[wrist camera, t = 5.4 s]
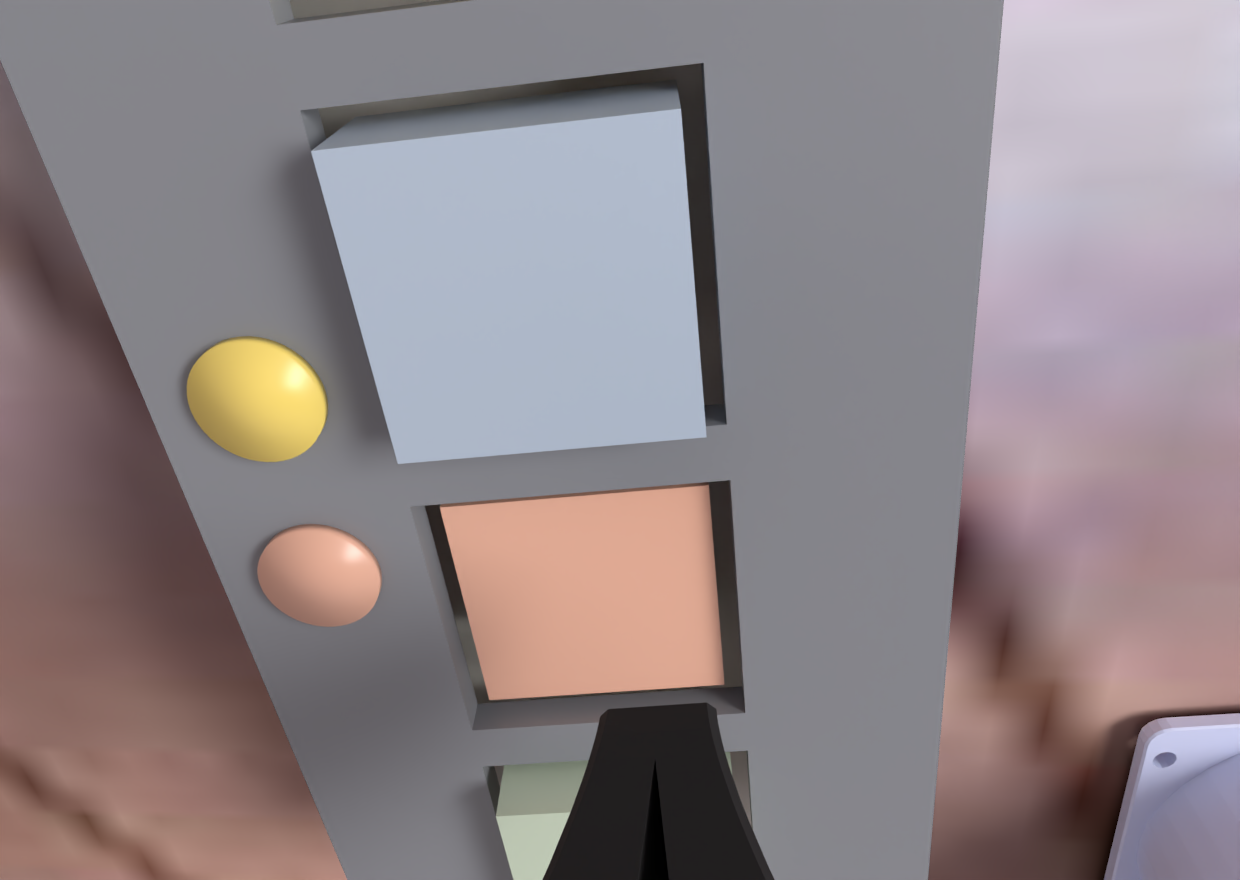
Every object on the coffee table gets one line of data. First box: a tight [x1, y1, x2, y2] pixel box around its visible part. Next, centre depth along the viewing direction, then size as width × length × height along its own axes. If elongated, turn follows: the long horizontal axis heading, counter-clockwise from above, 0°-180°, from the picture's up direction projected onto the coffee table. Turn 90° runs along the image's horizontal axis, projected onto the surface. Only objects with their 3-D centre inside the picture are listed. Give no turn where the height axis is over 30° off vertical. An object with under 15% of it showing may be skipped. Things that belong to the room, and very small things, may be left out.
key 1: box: [496, 752, 732, 880], centre depth 17 cm, size 4×4×2 cm
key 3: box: [311, 79, 707, 464], centre depth 12 cm, size 4×4×2 cm
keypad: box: [0, 0, 1004, 880], centre depth 15 cm, size 24×11×5 cm, turn 7°
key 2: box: [440, 482, 725, 700], centre depth 15 cm, size 4×4×2 cm
